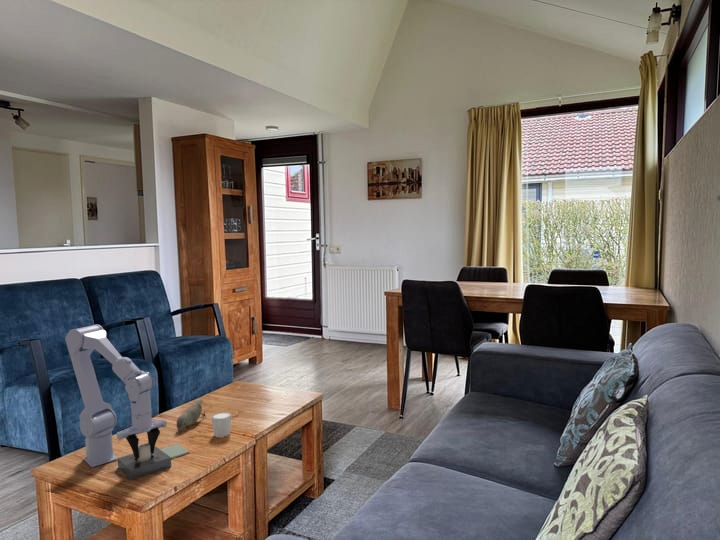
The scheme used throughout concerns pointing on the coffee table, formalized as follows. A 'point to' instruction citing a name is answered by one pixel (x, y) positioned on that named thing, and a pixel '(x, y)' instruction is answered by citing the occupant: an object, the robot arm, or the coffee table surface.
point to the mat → (175, 451)
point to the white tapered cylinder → (221, 424)
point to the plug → (144, 452)
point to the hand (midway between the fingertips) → (143, 455)
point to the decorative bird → (190, 416)
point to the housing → (144, 464)
